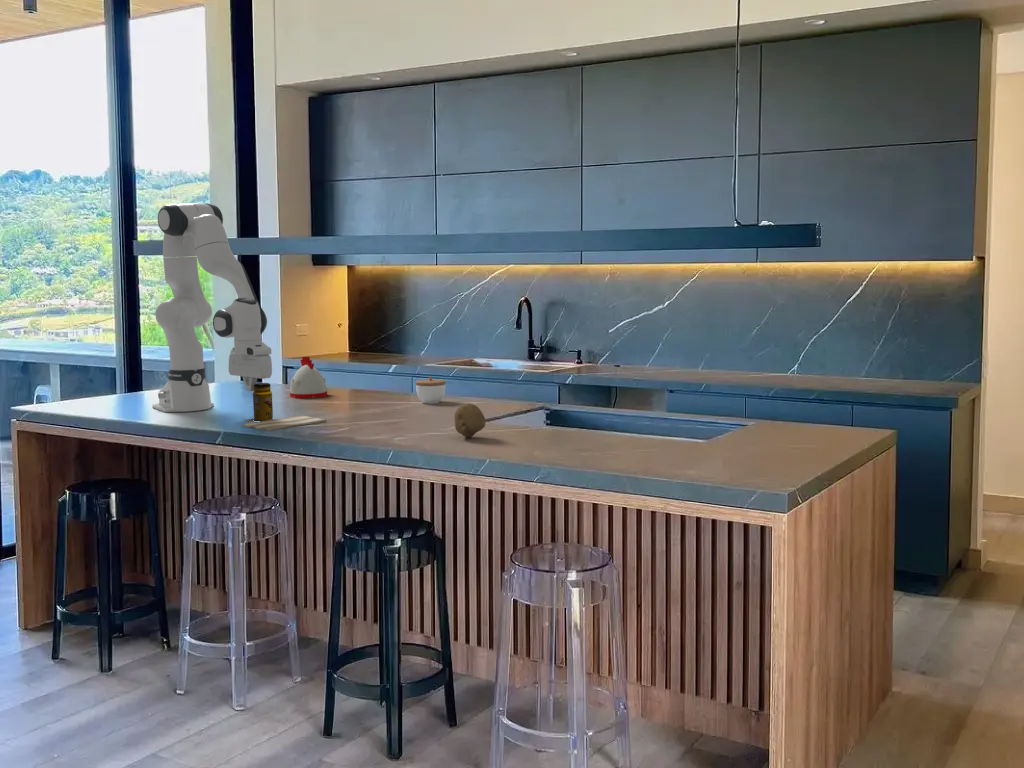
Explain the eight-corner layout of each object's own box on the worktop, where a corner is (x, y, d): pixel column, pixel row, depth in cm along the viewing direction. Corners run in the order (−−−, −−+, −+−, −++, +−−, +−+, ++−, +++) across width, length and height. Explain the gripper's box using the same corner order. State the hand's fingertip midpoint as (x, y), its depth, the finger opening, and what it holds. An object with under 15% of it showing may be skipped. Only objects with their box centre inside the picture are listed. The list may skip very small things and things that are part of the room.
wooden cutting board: (242, 425, 328) (242, 424, 328) (300, 417, 344) (300, 415, 344) (268, 430, 319) (267, 428, 318) (326, 421, 334) (326, 419, 334)
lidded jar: (449, 400, 378) (448, 374, 377) (442, 404, 368) (441, 378, 367) (420, 400, 380) (419, 374, 379) (412, 404, 370) (411, 378, 369)
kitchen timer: (314, 392, 405) (313, 354, 404) (334, 395, 395) (332, 356, 393) (283, 396, 396) (281, 356, 394) (302, 399, 386) (300, 359, 384)
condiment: (277, 420, 338) (275, 384, 336) (252, 423, 333) (250, 386, 332) (269, 417, 344) (267, 381, 343) (244, 420, 339) (242, 383, 338)
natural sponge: (489, 435, 306) (488, 401, 304) (481, 440, 297) (480, 406, 296) (459, 434, 308) (458, 401, 306) (450, 439, 299) (449, 405, 298)
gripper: (222, 347, 344) (224, 389, 346) (257, 350, 330) (259, 394, 332) (239, 346, 349) (241, 387, 350) (274, 349, 335) (276, 391, 336)
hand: (250, 390), depth 341 cm, fingers closed
